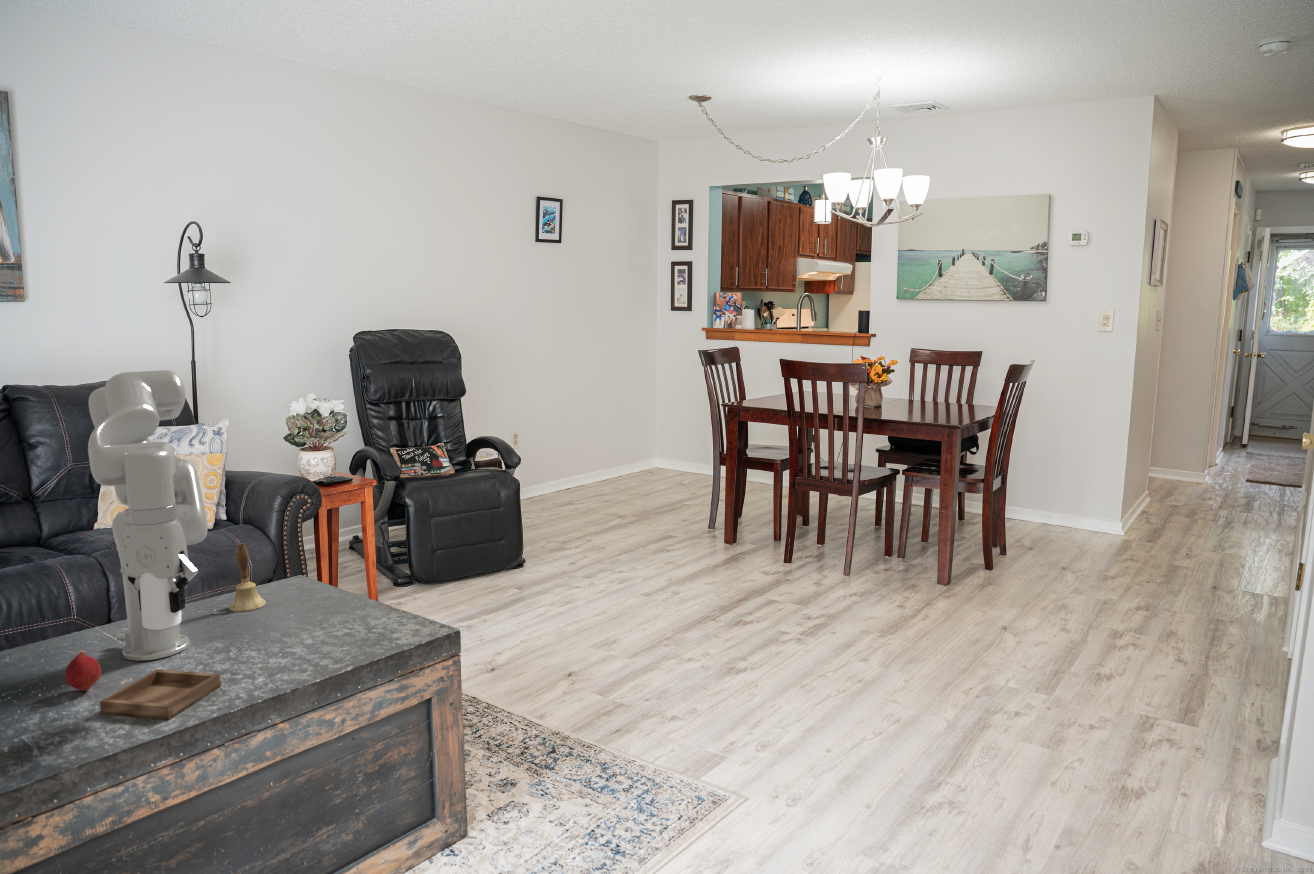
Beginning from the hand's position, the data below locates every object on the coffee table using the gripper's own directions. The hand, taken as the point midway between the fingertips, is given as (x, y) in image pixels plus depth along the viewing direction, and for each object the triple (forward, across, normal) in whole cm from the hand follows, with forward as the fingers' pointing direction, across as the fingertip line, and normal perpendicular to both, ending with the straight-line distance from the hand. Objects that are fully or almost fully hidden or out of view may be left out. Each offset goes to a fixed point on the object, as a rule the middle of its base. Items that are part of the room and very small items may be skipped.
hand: (162, 608), depth 164 cm
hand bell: (+18, -16, +48) cm, 54 cm away
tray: (+17, -1, -1) cm, 18 cm away
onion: (+18, -19, 0) cm, 26 cm away
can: (+3, -1, 0) cm, 3 cm away
